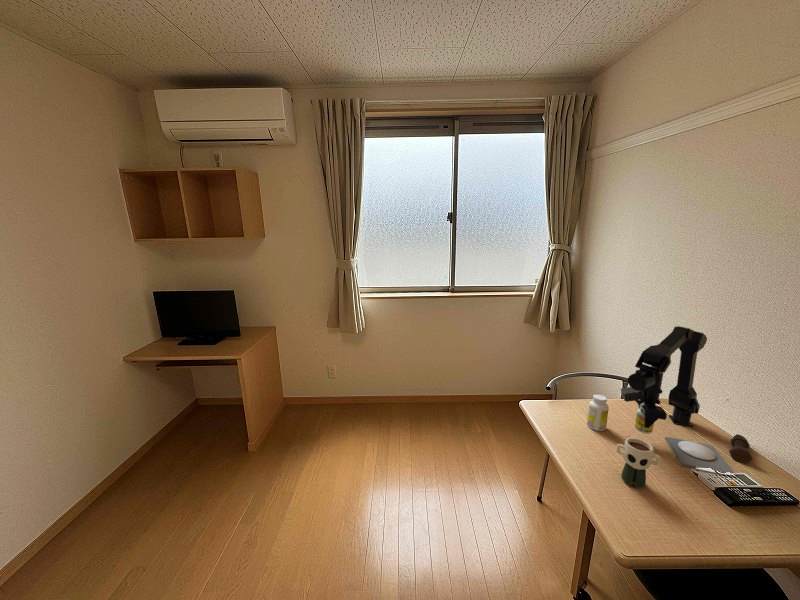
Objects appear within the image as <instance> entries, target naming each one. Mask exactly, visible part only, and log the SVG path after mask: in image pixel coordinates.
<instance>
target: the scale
mask: <svg viewBox="0 0 800 600" xmlns="http://www.w3.org/2000/svg"><path fill="white" fill-rule="evenodd" d="M664 439H665V441H666V442H667V445H668V446H669V448H670V449H671V451H672V452H673V454H674V456H675V458H676V460H677V461H678V463H679V464H680V466H682V467H685V468H691V469H695V468H711V469H712V470H715V471H720V472H730V473H735V471H734V469H732V468H731V466H730V465H729V464H728V463H727V461H726V460H725V459H724V458H723V457H722V456H721V454H720V453H719V452H718V451H717V449H716V448H715V447H714V445H711V444H706V443H701V442H696V441H690V440H685V439H680V438H675V437H671V436H670V437H669V436H665V438H664ZM720 468H722V469H720Z"/></svg>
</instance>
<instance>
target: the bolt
mask: <svg viewBox="0 0 800 600" xmlns="http://www.w3.org/2000/svg"><path fill="white" fill-rule="evenodd" d="M730 444H731V445H732V447H731V448H730V449H729V450H728V453H729V456H730V457H731V459H732V460H733V461H735V462H736V463H740V464H744V465H748V463H751V462H752V461H754V457H753V455H752V453H751V452H750V450H749V448H750V447H751V446H750V443H749V441H748V439H747V438H746V437H745V436H743V435H741V434H734V435H733V437H732V438H731V439H730Z"/></svg>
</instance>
